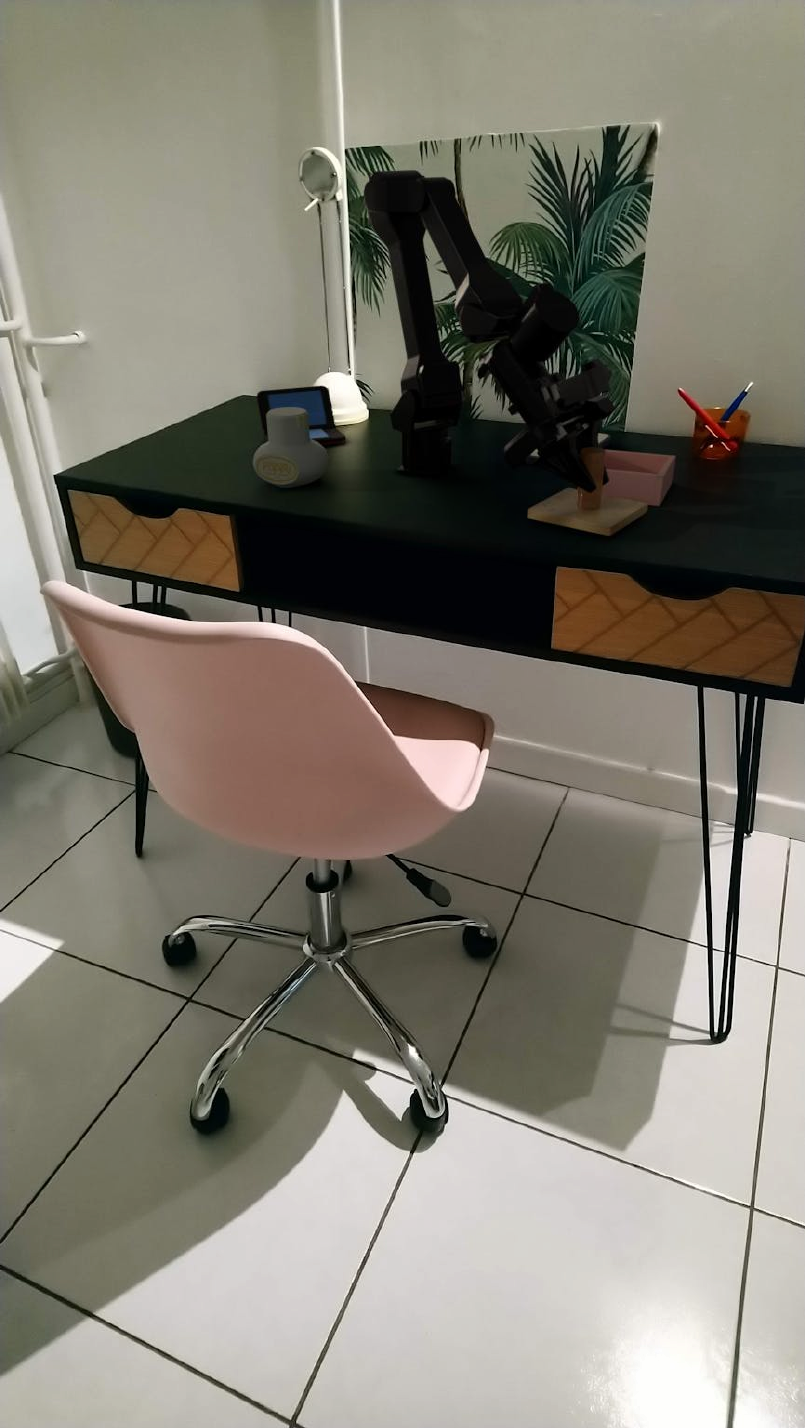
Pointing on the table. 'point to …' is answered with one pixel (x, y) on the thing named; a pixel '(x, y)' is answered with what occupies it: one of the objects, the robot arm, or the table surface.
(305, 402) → the handheld console
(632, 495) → the toy box
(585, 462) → the wooden peg stand
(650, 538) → the table surface
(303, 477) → the air freshener
